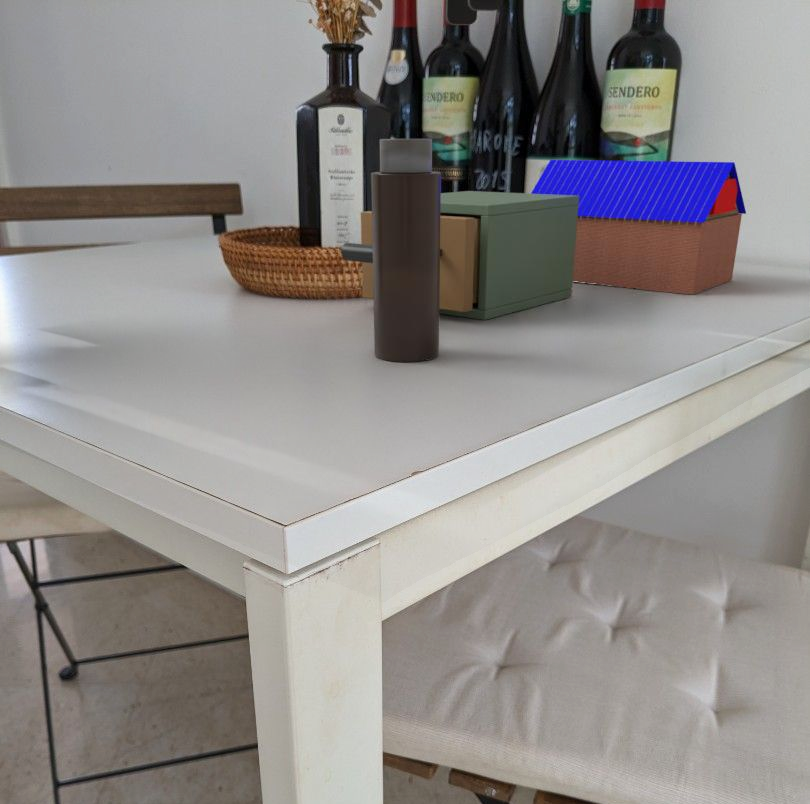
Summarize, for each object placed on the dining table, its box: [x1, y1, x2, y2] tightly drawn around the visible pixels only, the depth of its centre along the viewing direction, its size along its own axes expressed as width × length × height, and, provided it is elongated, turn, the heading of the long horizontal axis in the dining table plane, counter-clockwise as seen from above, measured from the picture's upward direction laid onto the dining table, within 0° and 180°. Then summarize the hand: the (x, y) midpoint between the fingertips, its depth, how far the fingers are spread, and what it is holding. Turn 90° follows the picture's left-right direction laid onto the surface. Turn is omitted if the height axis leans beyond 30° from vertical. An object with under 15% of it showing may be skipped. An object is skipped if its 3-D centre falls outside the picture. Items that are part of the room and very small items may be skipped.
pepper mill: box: [370, 138, 442, 363], centre depth 58 cm, size 5×5×14 cm
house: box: [530, 159, 747, 295], centre depth 90 cm, size 12×20×12 cm, turn 52°
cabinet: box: [439, 190, 579, 321], centre depth 79 cm, size 15×13×9 cm
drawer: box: [340, 210, 482, 312], centre depth 76 cm, size 18×11×7 cm, turn 140°
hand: (472, 17), depth 59 cm, fingers open, 8 cm apart
